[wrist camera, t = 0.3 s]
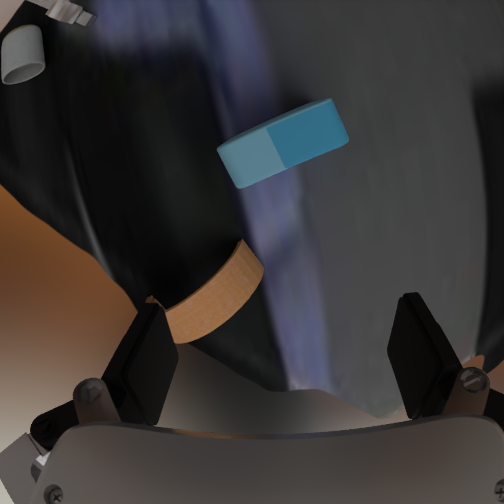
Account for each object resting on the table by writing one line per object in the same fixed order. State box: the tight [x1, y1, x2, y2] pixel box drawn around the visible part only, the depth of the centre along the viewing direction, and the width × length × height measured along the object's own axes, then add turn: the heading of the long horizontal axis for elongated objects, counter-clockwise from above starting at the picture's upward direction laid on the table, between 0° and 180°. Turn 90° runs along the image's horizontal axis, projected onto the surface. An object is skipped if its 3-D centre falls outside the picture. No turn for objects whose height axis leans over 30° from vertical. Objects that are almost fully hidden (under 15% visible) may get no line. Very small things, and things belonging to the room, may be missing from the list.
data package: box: [217, 98, 349, 188], centre depth 31 cm, size 12×4×12 cm, turn 116°
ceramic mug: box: [1, 25, 45, 84], centre depth 28 cm, size 11×8×8 cm
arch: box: [145, 239, 264, 343], centre depth 43 cm, size 6×20×10 cm, turn 124°
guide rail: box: [28, 0, 97, 28], centre depth 26 cm, size 2×20×2 cm, turn 52°
